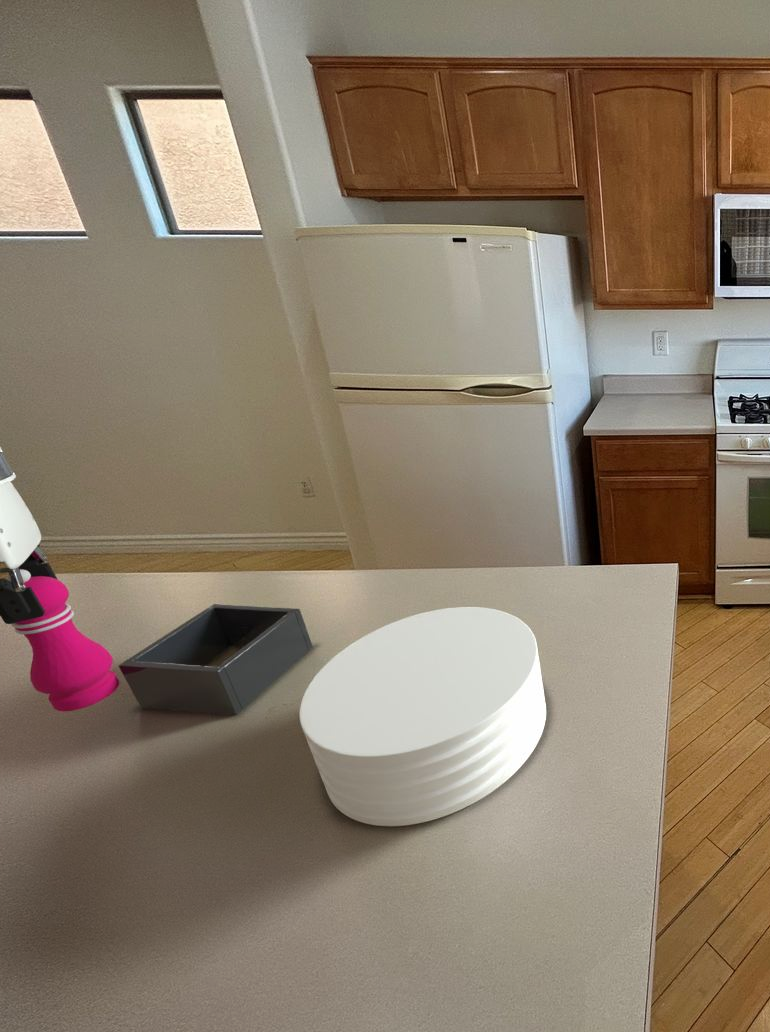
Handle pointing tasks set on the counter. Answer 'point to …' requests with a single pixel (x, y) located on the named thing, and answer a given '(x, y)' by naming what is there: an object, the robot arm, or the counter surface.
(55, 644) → the pepper mill
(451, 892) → the counter surface
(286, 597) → the counter surface
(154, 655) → the open box
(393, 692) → the plate stack
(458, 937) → the counter surface
